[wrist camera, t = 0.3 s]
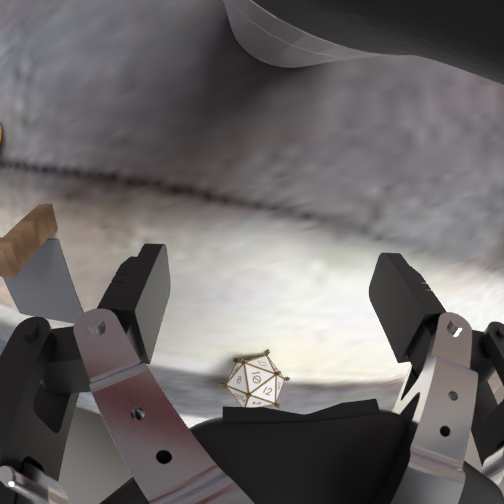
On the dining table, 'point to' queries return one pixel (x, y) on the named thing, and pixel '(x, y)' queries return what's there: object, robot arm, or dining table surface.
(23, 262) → the bridge
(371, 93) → the dining table surface
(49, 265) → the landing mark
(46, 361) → the robot arm
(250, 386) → the game die
